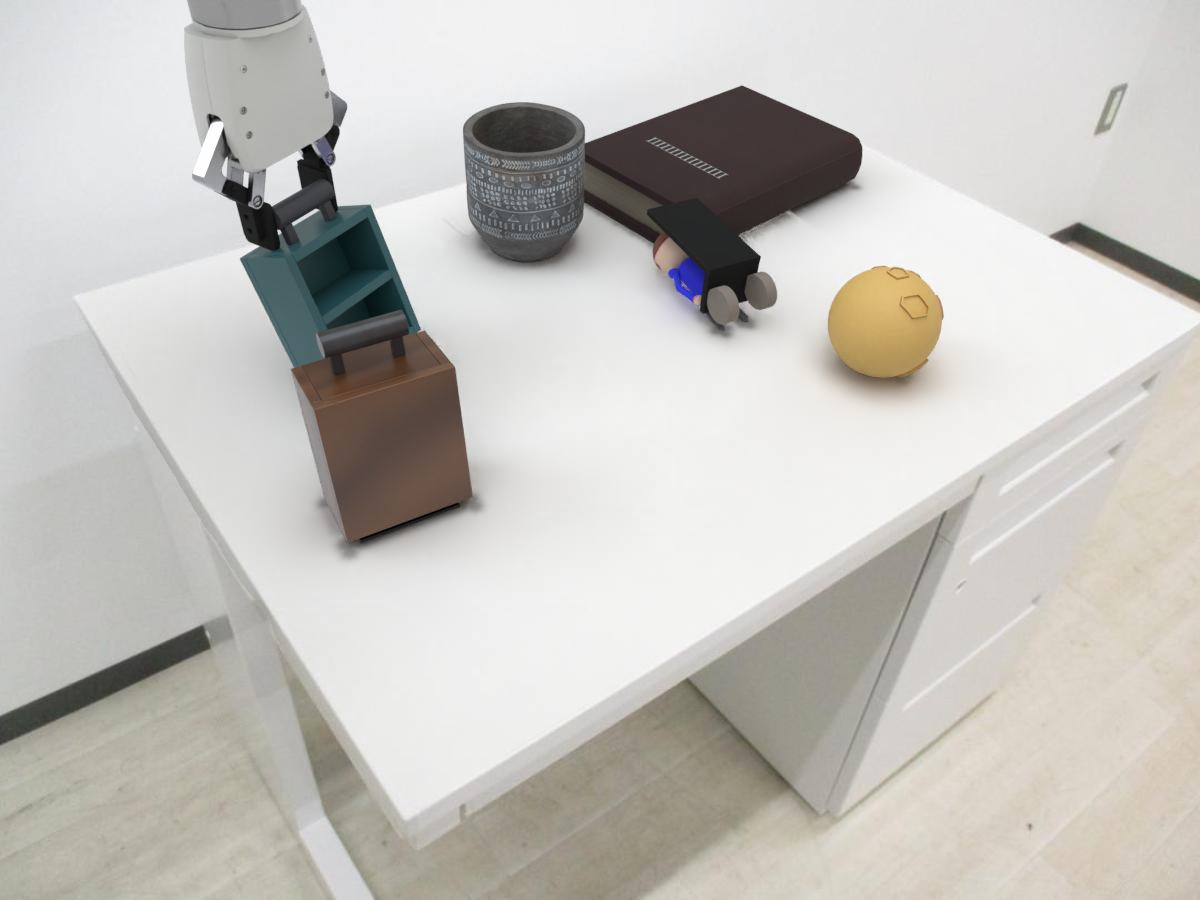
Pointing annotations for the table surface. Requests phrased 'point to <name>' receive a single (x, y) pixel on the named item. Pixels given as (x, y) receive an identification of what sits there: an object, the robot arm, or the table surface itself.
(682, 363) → the table surface
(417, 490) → the walnut shelf
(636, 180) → the book
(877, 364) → the stress ball
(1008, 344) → the table surface
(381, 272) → the teal shelf
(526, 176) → the planter
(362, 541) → the charcoal rectangular slab
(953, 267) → the table surface
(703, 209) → the figurine character
